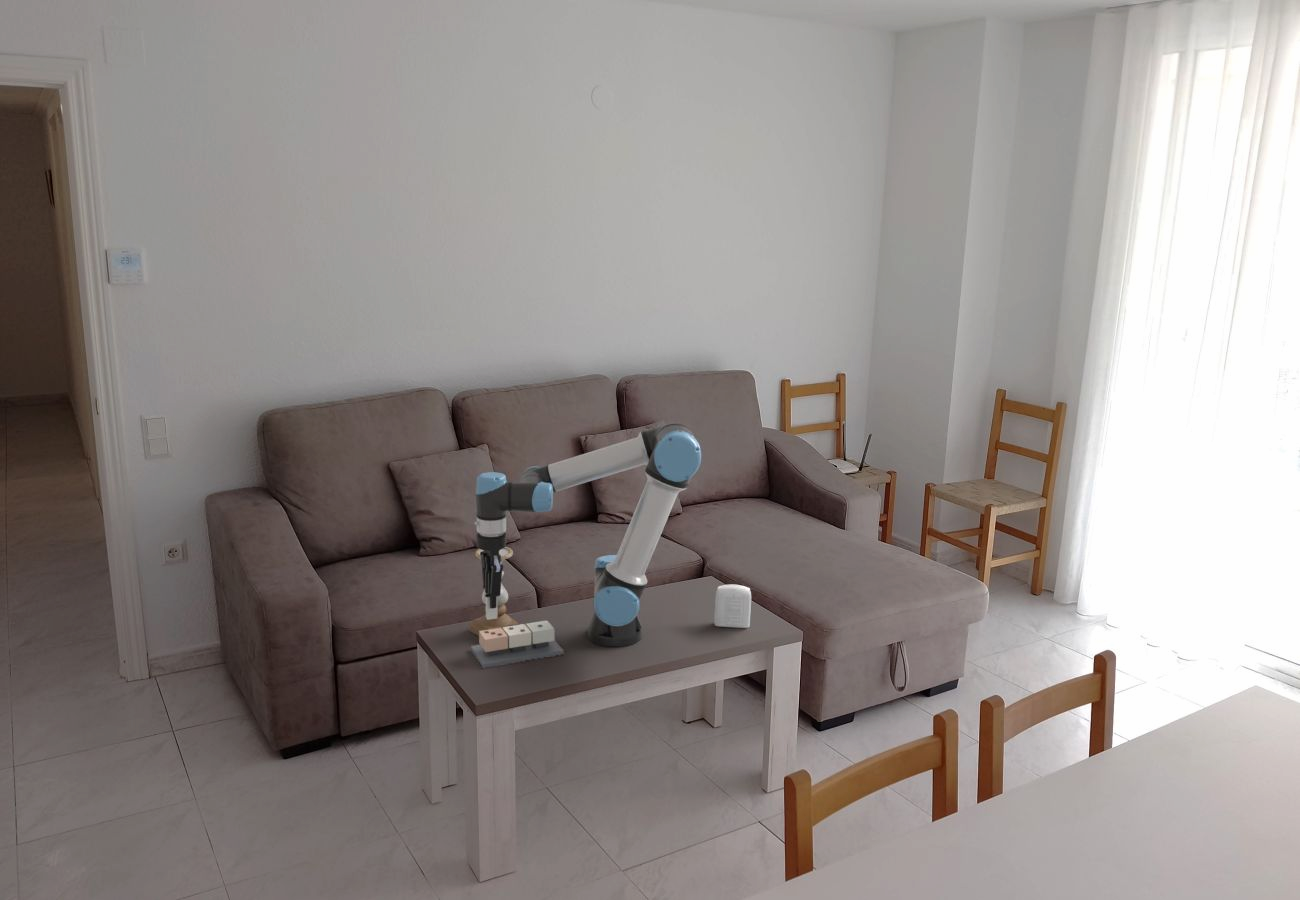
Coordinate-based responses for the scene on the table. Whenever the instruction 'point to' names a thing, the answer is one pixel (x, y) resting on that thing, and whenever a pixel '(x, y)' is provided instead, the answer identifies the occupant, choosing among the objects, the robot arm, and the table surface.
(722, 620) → the photo printer
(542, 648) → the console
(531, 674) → the table surface
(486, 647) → the three pip key
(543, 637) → the one pip key
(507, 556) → the candle holder
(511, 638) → the two pip key
